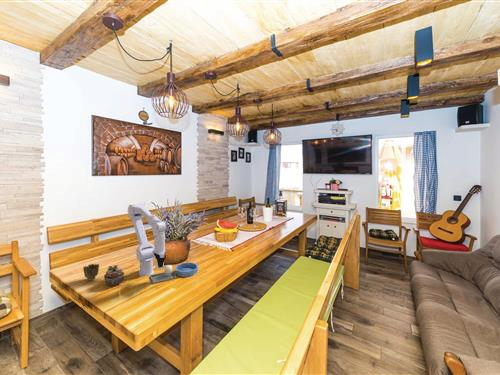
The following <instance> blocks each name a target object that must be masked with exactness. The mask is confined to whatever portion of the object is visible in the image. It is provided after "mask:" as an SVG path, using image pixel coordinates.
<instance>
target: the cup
mask: <svg viewBox="0 0 500 375" xmlns="http://www.w3.org/2000/svg"><path fill="white" fill-rule="evenodd" d="M82 270H83V274H84V277H85V278H86V279H87V280H88V281H94V280H95V279H96V277H97V276H98V274H99V270H100V264H99V263H97V264H96V263H94V264H93V263H91V264H88V265H87V266H86V265H85V266H83V268H82Z"/></svg>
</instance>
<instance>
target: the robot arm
mask: <svg viewBox="0 0 500 375" xmlns="http://www.w3.org/2000/svg"><path fill="white" fill-rule="evenodd" d="M127 213H128V216H129V219H130V220H132V224H133V228H134V231H135V235H136V238H137V242H138V244H139V245H138V246H137V248H136V249H135V251H136V253H135V254H136V255H135V256H136V259H137V261H139V270H138V273H139V278H142V277H147V276H150V275H154V274H155V271H154V265H153V264H154V263H153V261H154V260H156V259H157V262H158V267H159V268H161V267H163V263H164V264H165V259H166V257H167V255H166V254H165V253H166V231H167V230H168V224H167V222H166V221H165V220H161V219H159V217H158V216H156V214H152V213H151V212H150V211H149V209H148V204H146V203H144V202H143V203H137V204H129V205H128V207H127ZM143 218H145V219H146V222H147V224H149V226H150V227H151V230H152V235H153V237H154V238H153V240H154V241H153V243H154V244H153V243H151V242H149V240H148V237H147V234H146V231H145V228H144V227H145V226H144V223H143Z"/></svg>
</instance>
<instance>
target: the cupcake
mask: <svg viewBox="0 0 500 375" xmlns="http://www.w3.org/2000/svg"><path fill="white" fill-rule="evenodd" d="M124 276H125V272H124V271H123V269H122V268H120V266H118V265H110V266H108V267H107V271H106V272H105V274H104V276H103V278H104V282H105V285H106V287H108V288H111V287H117V286H119V285H121V284H122V283H123V282H124Z"/></svg>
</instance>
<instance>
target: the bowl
mask: <svg viewBox="0 0 500 375" xmlns="http://www.w3.org/2000/svg"><path fill="white" fill-rule="evenodd" d="M174 270H175V271H174V274H175V276H177V277H182V278H185V277H186V278H187V277H188V278H189V277H192V276H195V275H196V274H197V273H198V272H199V265H198V264H197V263H195V262H188V261H187V262H181V263H180V264H179V263H178V264H177V265H176V266H175V269H174Z"/></svg>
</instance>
